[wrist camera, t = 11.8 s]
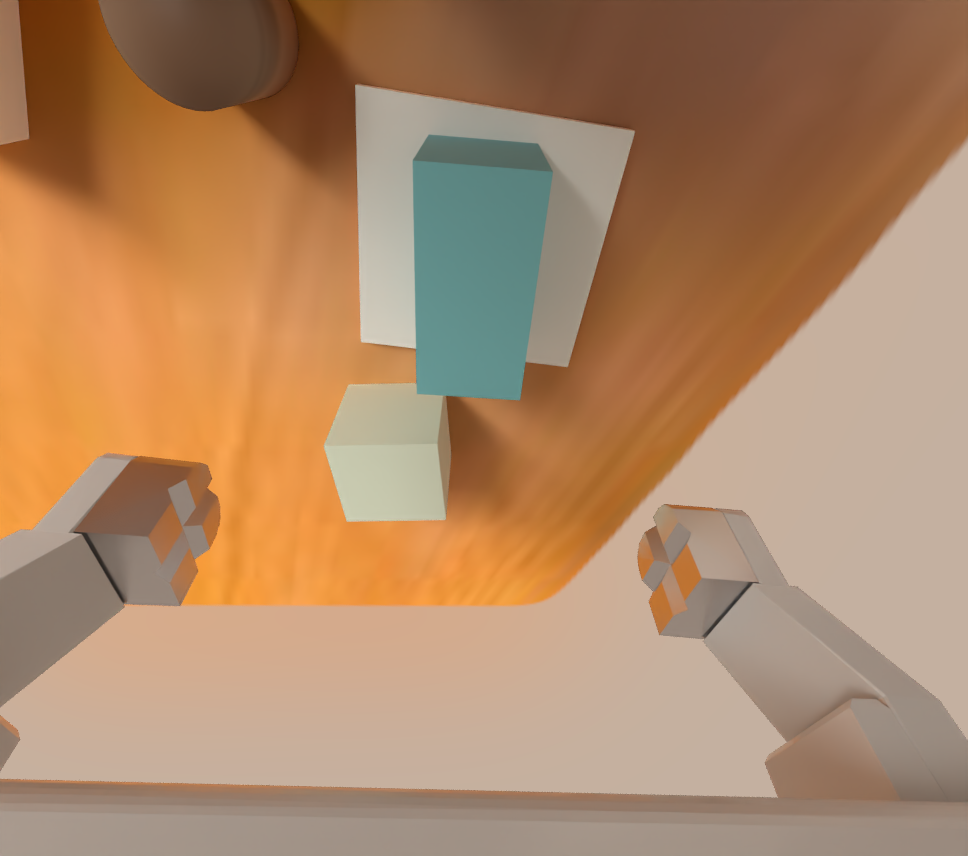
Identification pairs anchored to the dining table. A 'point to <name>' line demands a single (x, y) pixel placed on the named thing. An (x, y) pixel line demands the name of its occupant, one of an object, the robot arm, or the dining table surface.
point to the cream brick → (12, 76)
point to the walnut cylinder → (206, 48)
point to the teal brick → (476, 262)
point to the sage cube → (390, 453)
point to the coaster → (569, 223)
